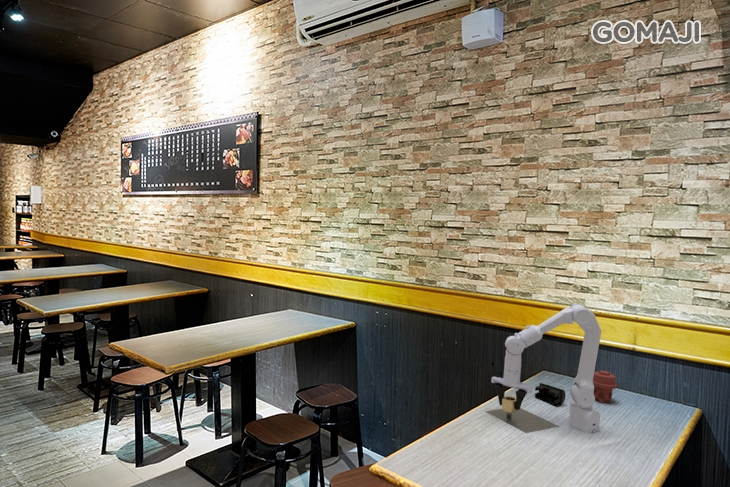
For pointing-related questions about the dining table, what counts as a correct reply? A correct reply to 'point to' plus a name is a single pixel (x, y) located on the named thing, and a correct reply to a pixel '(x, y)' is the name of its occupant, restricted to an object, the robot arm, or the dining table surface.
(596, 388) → the mechanical component
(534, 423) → the shaft stand
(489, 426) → the dining table surface
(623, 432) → the dining table surface
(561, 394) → the end cap
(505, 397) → the bronze hub
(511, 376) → the robot arm
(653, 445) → the dining table surface
